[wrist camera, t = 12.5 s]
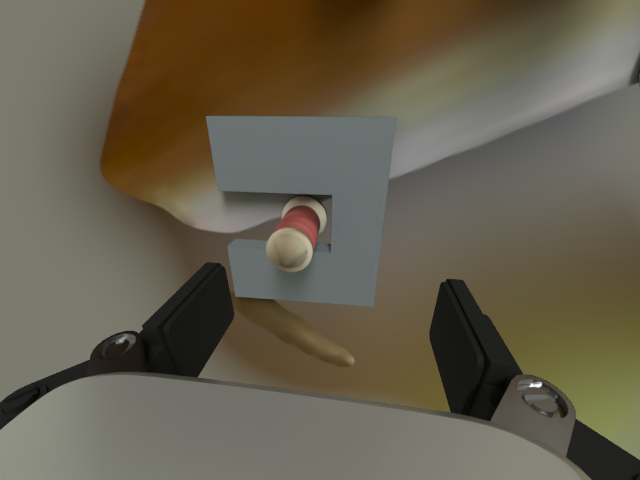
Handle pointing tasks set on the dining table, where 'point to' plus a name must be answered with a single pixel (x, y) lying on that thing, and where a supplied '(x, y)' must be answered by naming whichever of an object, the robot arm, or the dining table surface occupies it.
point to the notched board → (310, 178)
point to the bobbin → (296, 233)
